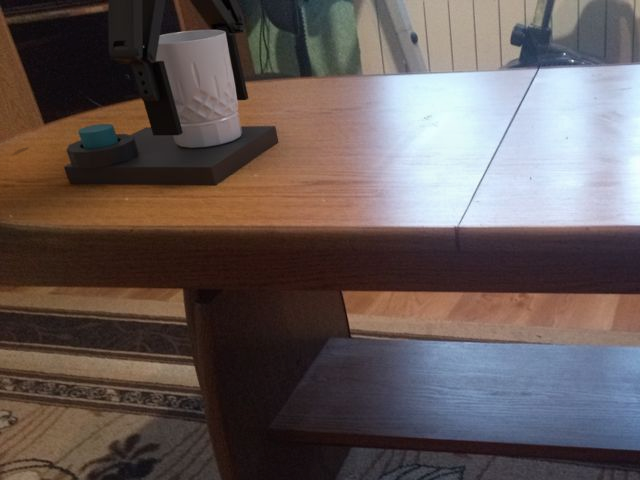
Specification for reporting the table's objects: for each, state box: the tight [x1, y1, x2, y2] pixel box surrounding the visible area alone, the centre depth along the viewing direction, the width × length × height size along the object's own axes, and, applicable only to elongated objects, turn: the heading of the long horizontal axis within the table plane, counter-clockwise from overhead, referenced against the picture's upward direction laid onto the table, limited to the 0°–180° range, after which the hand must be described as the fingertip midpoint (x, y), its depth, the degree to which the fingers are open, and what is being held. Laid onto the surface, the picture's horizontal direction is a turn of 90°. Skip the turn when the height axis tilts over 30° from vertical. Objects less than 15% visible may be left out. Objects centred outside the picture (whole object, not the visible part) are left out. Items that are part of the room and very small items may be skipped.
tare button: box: [77, 123, 118, 148], centre depth 72 cm, size 3×3×2 cm
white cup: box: [142, 29, 242, 148], centre depth 74 cm, size 8×8×10 cm
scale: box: [63, 125, 279, 186], centre depth 75 cm, size 16×15×4 cm
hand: (204, 116), depth 75 cm, fingers open, 13 cm apart
